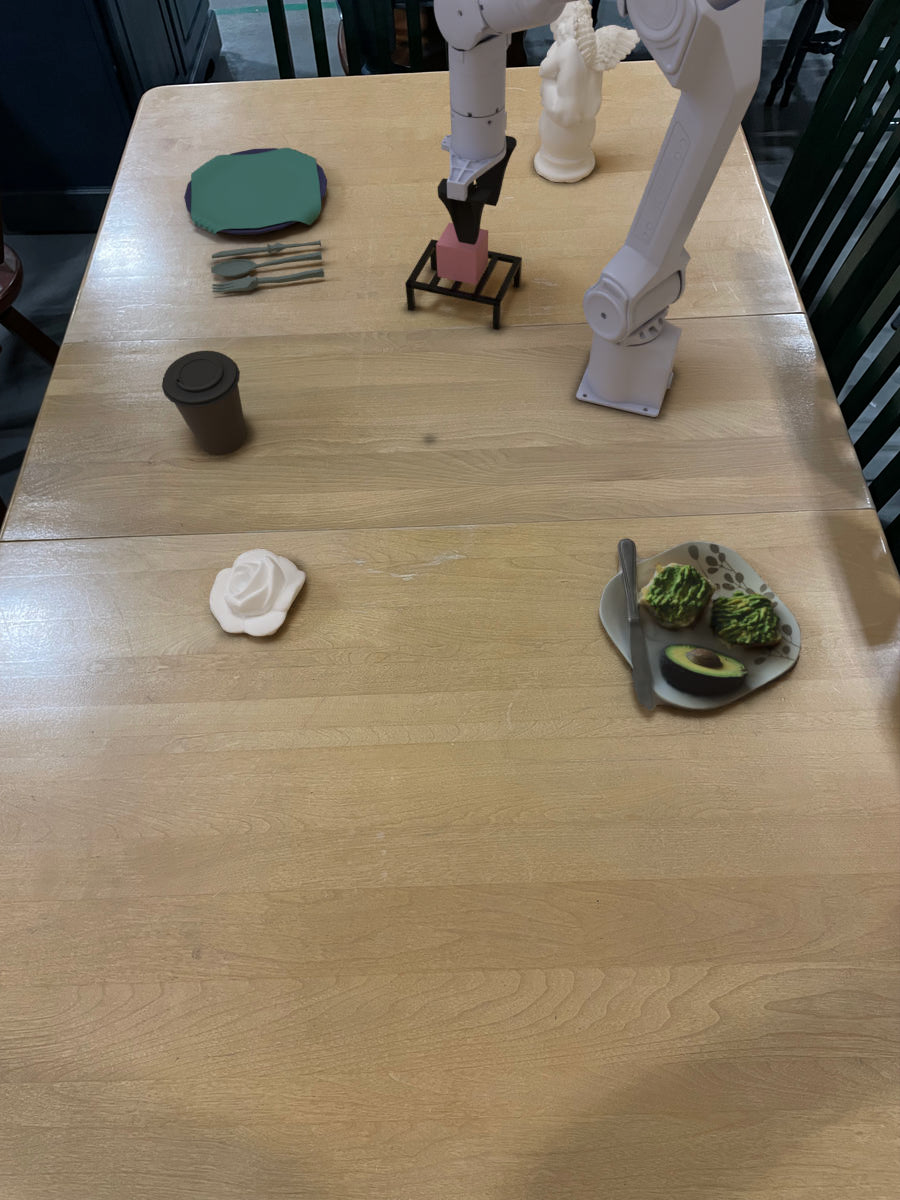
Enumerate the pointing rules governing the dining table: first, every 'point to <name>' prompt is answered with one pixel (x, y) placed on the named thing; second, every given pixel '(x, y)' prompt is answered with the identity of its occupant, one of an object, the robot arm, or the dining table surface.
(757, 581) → the avocado toast plate
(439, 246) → the pink box
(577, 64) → the cherub figurine
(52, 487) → the dining table surface
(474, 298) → the rack
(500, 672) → the dining table surface
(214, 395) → the coffee cup
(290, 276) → the cutlery set
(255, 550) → the rose
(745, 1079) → the dining table surface
